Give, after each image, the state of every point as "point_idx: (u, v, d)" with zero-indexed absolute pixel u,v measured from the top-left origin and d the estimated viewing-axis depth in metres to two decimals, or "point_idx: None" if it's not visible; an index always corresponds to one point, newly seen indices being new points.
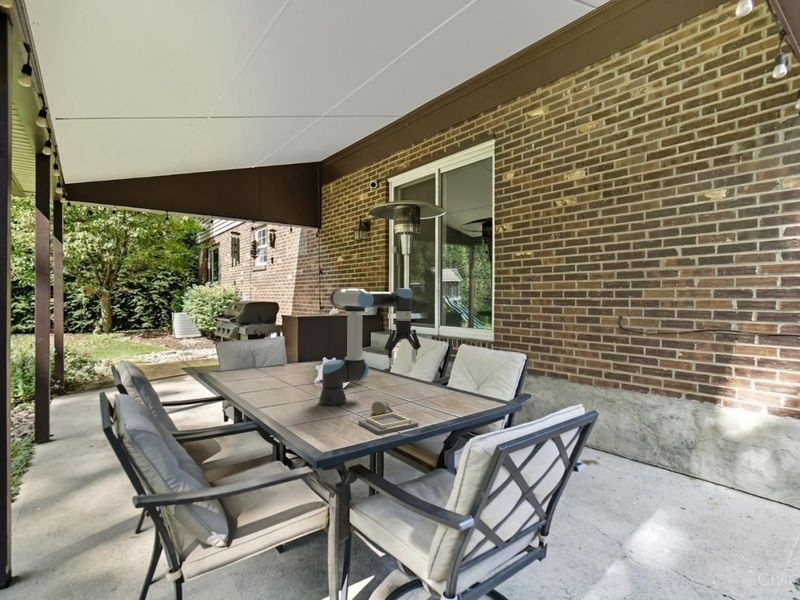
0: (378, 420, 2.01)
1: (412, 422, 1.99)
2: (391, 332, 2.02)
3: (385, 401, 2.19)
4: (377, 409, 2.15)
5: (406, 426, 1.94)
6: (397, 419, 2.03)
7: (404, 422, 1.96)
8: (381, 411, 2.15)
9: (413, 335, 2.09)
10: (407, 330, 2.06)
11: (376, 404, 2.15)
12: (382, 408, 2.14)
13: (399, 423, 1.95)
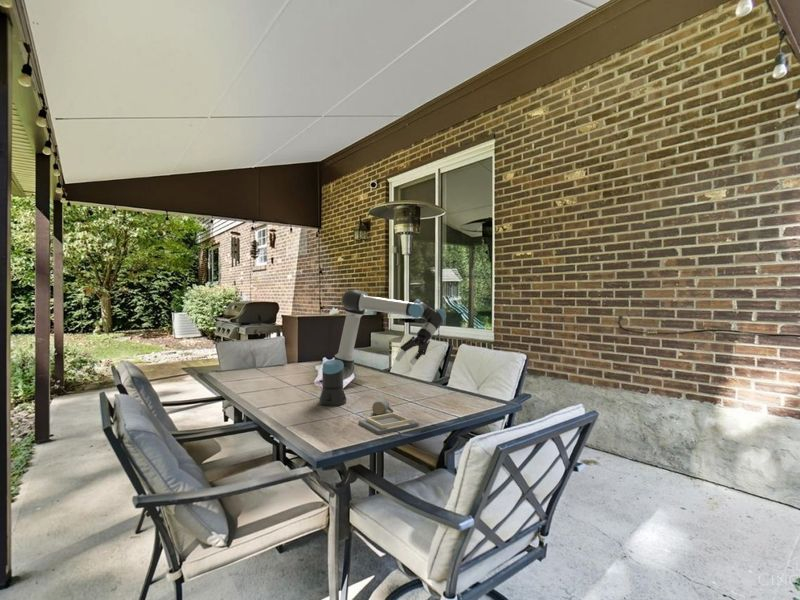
0: (378, 420, 2.01)
1: (412, 422, 1.99)
2: (427, 341, 2.26)
3: (386, 401, 2.19)
4: (378, 409, 2.15)
5: (406, 426, 1.94)
6: (397, 419, 2.03)
7: (404, 422, 1.96)
8: (382, 411, 2.15)
9: None
10: None
11: (377, 404, 2.15)
12: (383, 408, 2.14)
13: (399, 423, 1.95)
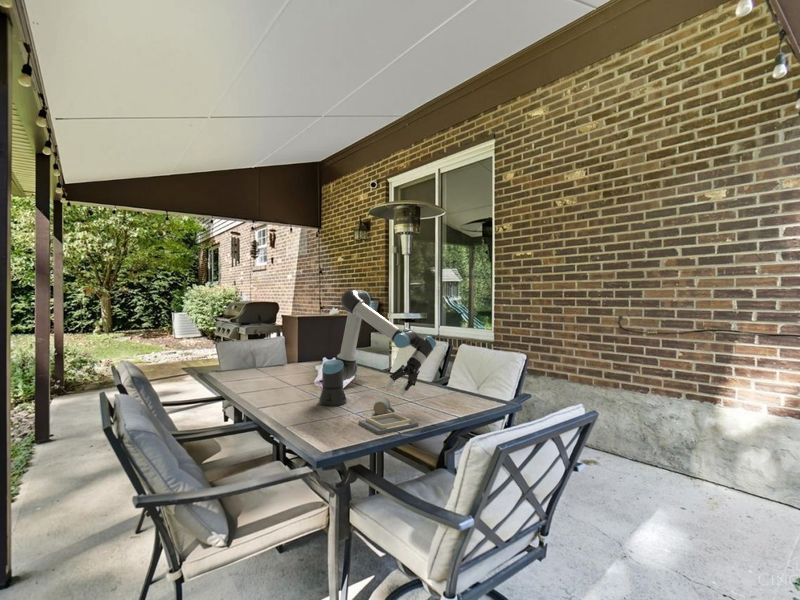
0: (378, 420, 2.01)
1: (412, 422, 1.99)
2: (417, 371, 2.22)
3: (387, 401, 2.19)
4: (379, 409, 2.15)
5: (406, 426, 1.94)
6: (397, 419, 2.03)
7: (404, 422, 1.96)
8: (383, 411, 2.14)
9: None
10: None
11: (378, 404, 2.15)
12: (384, 408, 2.14)
13: (399, 423, 1.95)
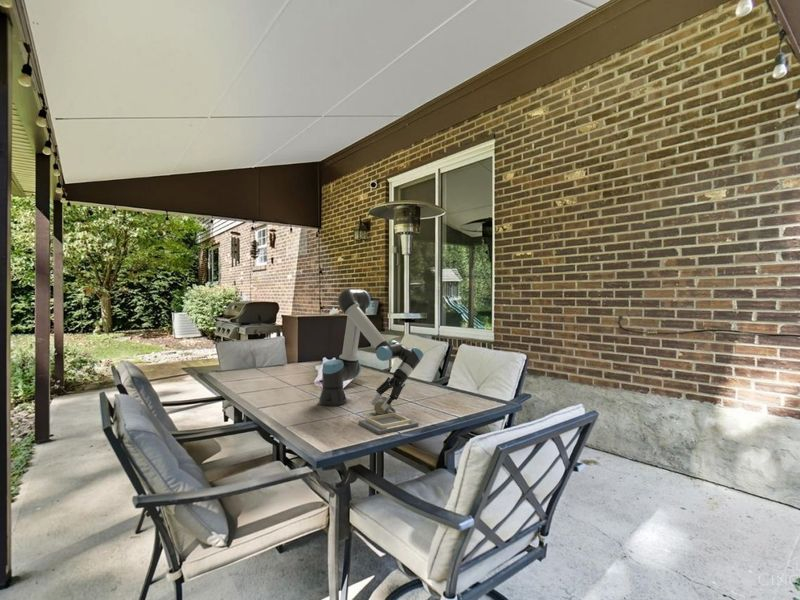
0: (378, 420, 2.01)
1: (412, 422, 1.99)
2: (402, 384, 2.18)
3: None
4: (380, 409, 2.15)
5: (406, 426, 1.94)
6: (397, 419, 2.03)
7: (404, 422, 1.96)
8: (384, 411, 2.15)
9: (387, 383, 2.27)
10: None
11: (379, 404, 2.15)
12: None
13: (399, 423, 1.95)
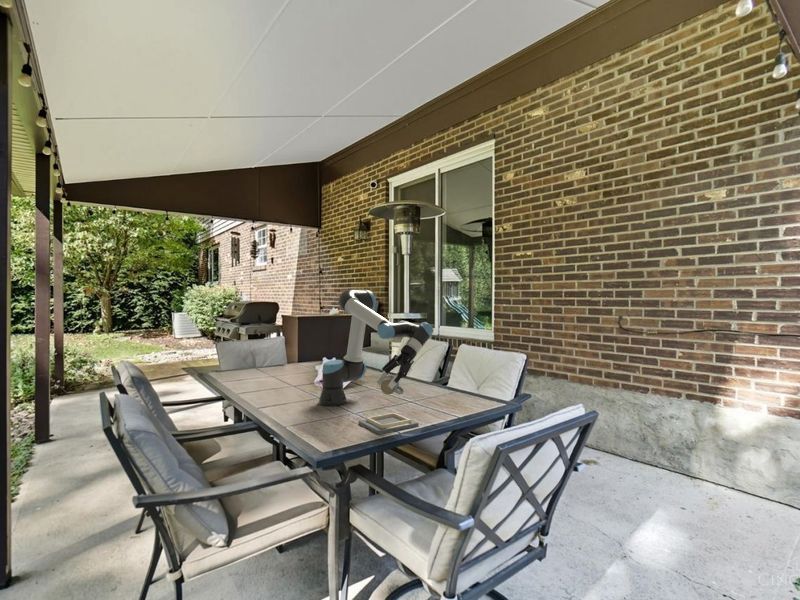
0: (378, 420, 2.01)
1: (412, 422, 1.99)
2: (411, 361, 1.98)
3: None
4: (386, 388, 1.96)
5: (406, 426, 1.94)
6: (397, 419, 2.03)
7: (404, 422, 1.96)
8: (391, 390, 1.95)
9: None
10: None
11: (385, 382, 1.96)
12: None
13: (399, 423, 1.95)
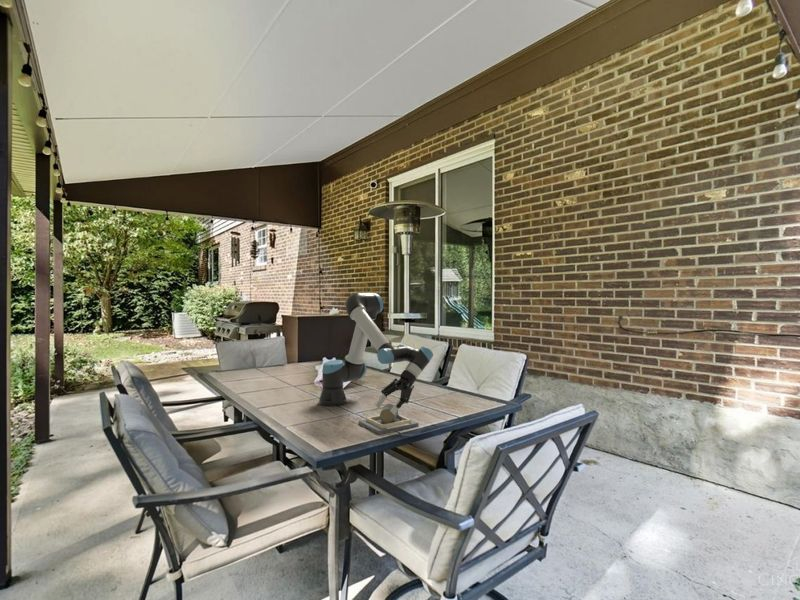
0: (378, 420, 2.01)
1: (412, 422, 1.99)
2: (411, 386, 1.98)
3: None
4: (386, 417, 1.96)
5: (406, 426, 1.94)
6: (397, 419, 2.03)
7: (404, 422, 1.96)
8: (390, 419, 1.95)
9: (394, 384, 2.08)
10: None
11: (385, 412, 1.95)
12: (391, 416, 1.95)
13: (399, 423, 1.95)
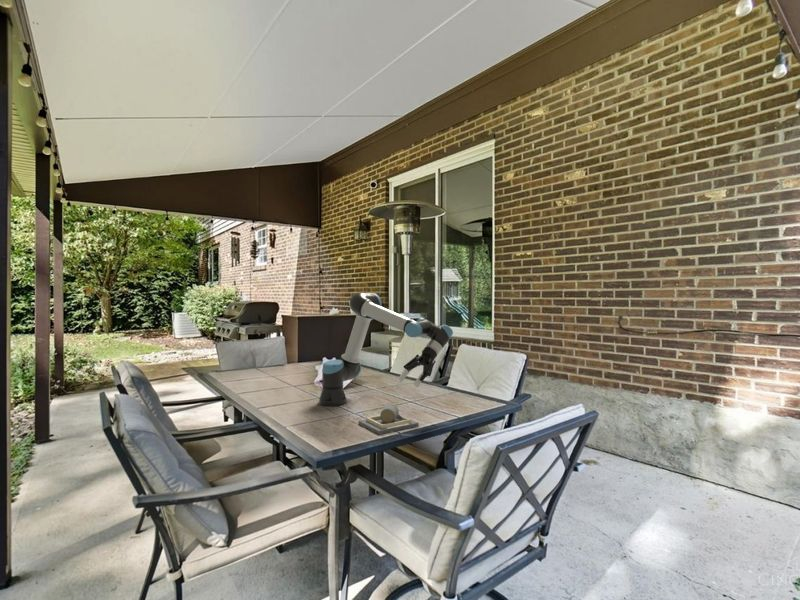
0: (378, 420, 2.01)
1: (412, 422, 1.99)
2: (433, 361, 2.10)
3: (395, 408, 2.00)
4: (386, 417, 1.96)
5: (406, 426, 1.94)
6: None
7: (404, 422, 1.96)
8: (391, 419, 1.95)
9: None
10: None
11: (385, 411, 1.96)
12: (392, 416, 1.95)
13: (399, 423, 1.95)
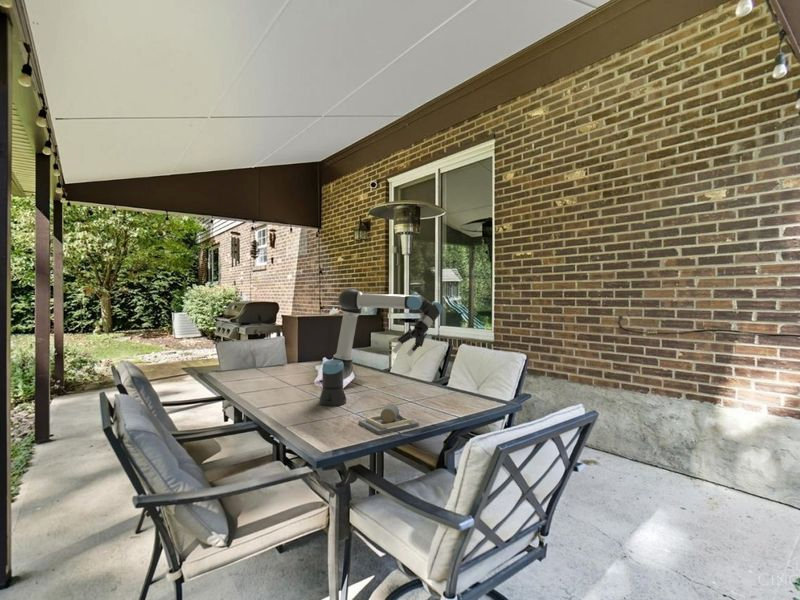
0: (378, 420, 2.01)
1: (412, 422, 1.99)
2: (424, 333, 2.29)
3: (395, 408, 2.00)
4: (387, 417, 1.96)
5: (406, 426, 1.94)
6: None
7: (404, 422, 1.96)
8: (391, 419, 1.95)
9: (408, 334, 2.39)
10: None
11: (385, 411, 1.96)
12: (392, 416, 1.95)
13: (399, 423, 1.95)
